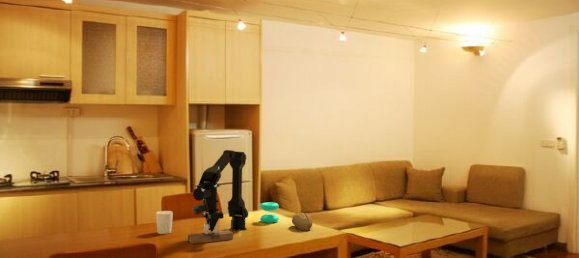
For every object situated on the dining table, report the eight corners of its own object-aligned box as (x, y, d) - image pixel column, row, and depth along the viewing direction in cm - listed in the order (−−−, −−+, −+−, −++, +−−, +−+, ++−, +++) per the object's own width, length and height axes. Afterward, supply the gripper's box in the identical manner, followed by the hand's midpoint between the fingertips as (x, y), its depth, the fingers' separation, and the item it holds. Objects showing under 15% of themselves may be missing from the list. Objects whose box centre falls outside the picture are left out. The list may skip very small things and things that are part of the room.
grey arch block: (203, 236, 236) (203, 223, 236) (215, 235, 239) (215, 222, 239) (205, 237, 234) (205, 224, 234) (217, 236, 237) (217, 223, 237)
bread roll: (304, 224, 272) (304, 209, 272) (316, 230, 258) (316, 214, 258) (287, 225, 269) (288, 210, 268) (299, 232, 255) (299, 216, 254)
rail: (187, 240, 235) (187, 234, 235) (228, 236, 244) (228, 230, 244) (191, 243, 229) (191, 237, 229) (233, 239, 238) (233, 232, 238)
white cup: (168, 234, 246) (168, 214, 246) (153, 233, 248) (153, 213, 247) (175, 231, 254) (175, 211, 253) (160, 230, 255) (160, 210, 255)
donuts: (279, 205, 274) (261, 205, 273) (279, 223, 274) (260, 223, 273) (277, 201, 284) (260, 201, 283) (277, 219, 284) (259, 219, 283)
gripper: (188, 195, 241) (188, 228, 241) (199, 201, 224) (199, 237, 224) (210, 194, 246) (210, 226, 246) (223, 200, 229) (223, 234, 229)
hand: (210, 230), depth 236 cm, fingers closed on grey arch block, 2 cm apart
